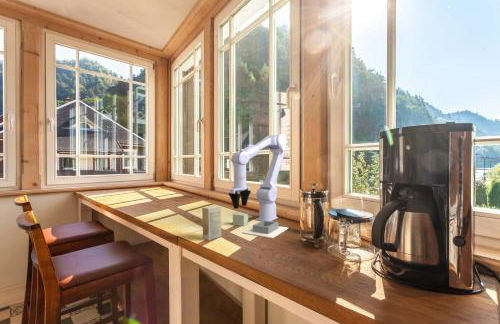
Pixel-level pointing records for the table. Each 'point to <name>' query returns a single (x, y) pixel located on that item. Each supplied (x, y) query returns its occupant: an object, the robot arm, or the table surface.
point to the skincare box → (211, 222)
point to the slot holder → (266, 229)
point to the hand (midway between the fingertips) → (240, 207)
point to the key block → (240, 219)
